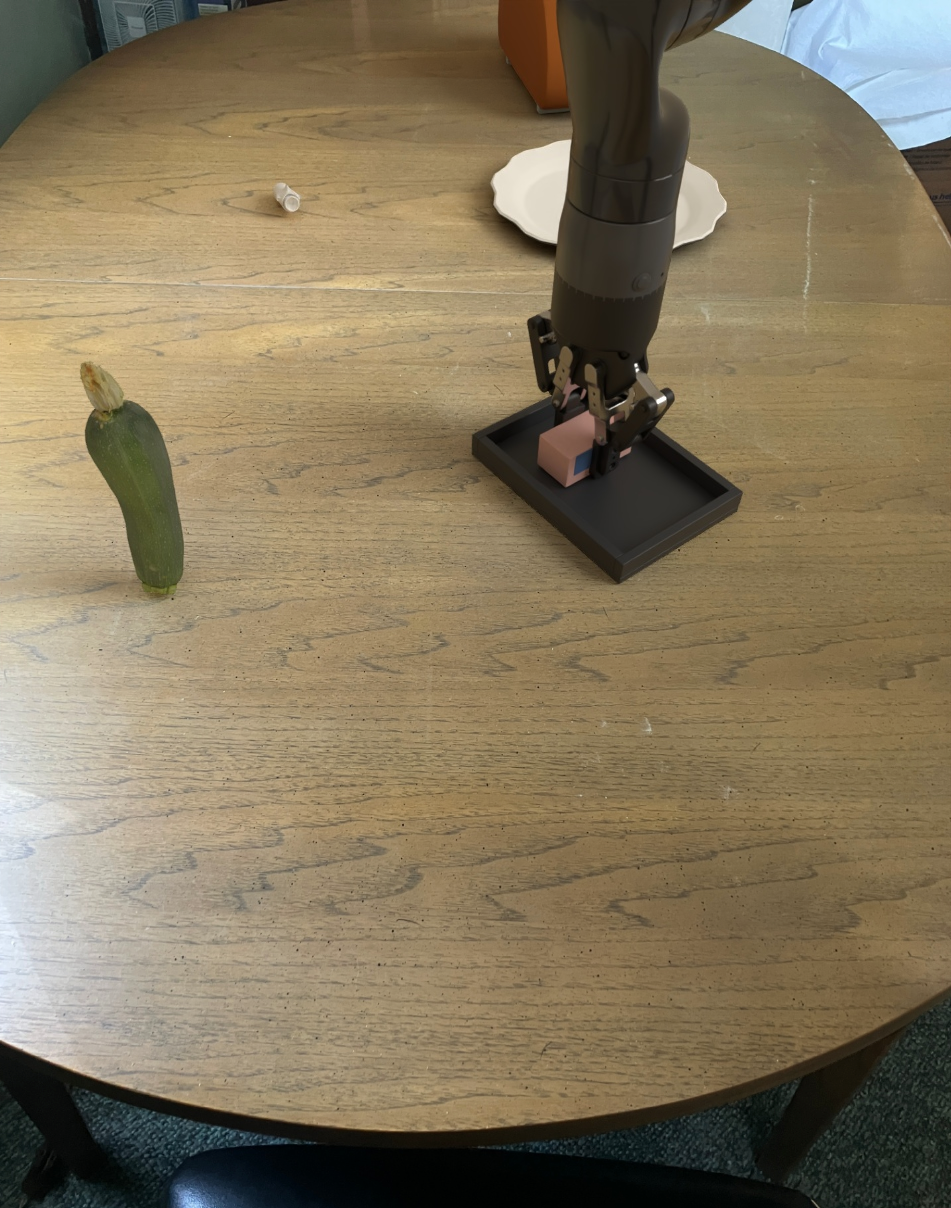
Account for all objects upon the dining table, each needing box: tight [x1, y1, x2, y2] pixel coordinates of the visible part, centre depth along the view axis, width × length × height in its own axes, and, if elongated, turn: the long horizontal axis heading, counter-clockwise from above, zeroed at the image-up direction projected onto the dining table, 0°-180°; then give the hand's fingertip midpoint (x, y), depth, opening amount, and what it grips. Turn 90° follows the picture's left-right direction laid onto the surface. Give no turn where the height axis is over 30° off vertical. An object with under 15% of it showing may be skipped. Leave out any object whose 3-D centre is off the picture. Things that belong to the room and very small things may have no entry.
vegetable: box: [79, 360, 185, 595], centre depth 60 cm, size 4×4×20 cm
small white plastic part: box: [272, 182, 302, 213], centre depth 101 cm, size 4×6×3 cm, turn 177°
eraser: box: [537, 410, 631, 487], centre depth 75 cm, size 4×7×3 cm, turn 128°
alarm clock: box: [497, 0, 570, 115], centre depth 117 cm, size 23×9×17 cm, turn 13°
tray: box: [471, 392, 744, 585], centre depth 75 cm, size 18×13×2 cm
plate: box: [489, 138, 728, 251], centre depth 103 cm, size 25×25×2 cm
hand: (583, 457), depth 76 cm, fingers closed on eraser, 3 cm apart
